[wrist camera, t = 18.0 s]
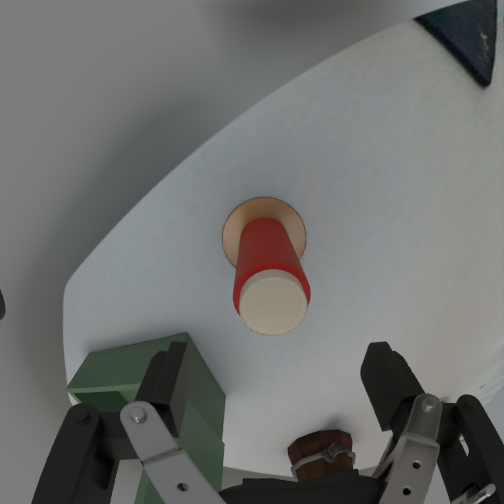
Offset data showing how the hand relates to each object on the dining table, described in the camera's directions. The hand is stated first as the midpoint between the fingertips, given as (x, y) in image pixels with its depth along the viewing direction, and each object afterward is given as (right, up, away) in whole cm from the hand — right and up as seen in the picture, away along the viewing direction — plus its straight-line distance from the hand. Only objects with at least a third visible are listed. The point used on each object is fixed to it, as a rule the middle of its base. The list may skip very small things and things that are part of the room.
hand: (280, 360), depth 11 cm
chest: (-15, -13, +23) cm, 30 cm away
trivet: (0, +6, +16) cm, 17 cm away
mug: (+11, -29, +29) cm, 42 cm away
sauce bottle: (0, +6, +15) cm, 16 cm away
